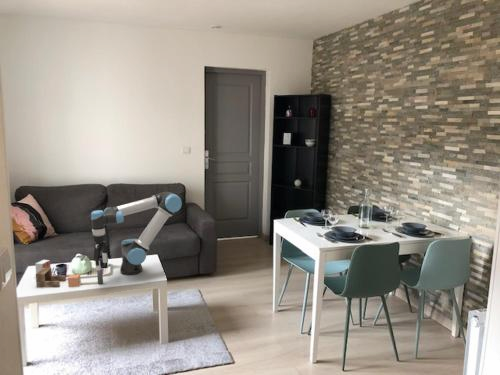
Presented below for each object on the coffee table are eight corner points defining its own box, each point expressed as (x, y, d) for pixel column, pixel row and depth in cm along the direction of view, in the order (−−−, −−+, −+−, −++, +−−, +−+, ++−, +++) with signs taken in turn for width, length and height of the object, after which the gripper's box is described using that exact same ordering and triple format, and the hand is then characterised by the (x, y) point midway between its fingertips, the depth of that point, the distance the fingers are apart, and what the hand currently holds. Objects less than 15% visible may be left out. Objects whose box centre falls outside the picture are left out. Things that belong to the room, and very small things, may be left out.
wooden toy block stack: (66, 280, 275) (65, 267, 274) (58, 287, 265) (57, 274, 263) (44, 280, 275) (43, 267, 274) (36, 287, 264) (35, 274, 263)
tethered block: (103, 281, 274) (103, 267, 272) (102, 285, 268) (101, 270, 266) (71, 283, 271) (70, 268, 269) (68, 287, 265) (67, 272, 263)
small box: (43, 278, 278) (42, 263, 276) (36, 278, 279) (34, 263, 277) (51, 274, 286) (50, 260, 284) (44, 273, 287) (43, 259, 285)
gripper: (99, 229, 277) (102, 259, 281) (86, 240, 253) (89, 273, 257) (110, 229, 278) (113, 259, 281) (98, 240, 253) (101, 273, 257)
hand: (101, 266), depth 269 cm, fingers open, 13 cm apart
